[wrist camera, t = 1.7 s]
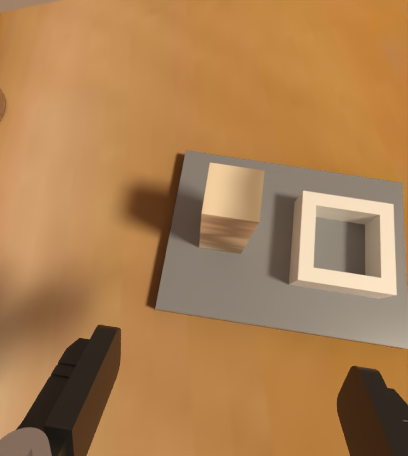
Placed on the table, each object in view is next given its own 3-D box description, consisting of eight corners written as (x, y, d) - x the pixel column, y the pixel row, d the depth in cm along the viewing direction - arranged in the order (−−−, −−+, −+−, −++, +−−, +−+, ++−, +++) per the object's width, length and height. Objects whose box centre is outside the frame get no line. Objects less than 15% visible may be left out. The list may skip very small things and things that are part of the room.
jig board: (156, 309, 34) (151, 306, 29) (186, 157, 39) (185, 135, 35) (400, 348, 33) (431, 350, 29) (394, 188, 39) (419, 170, 34)
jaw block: (199, 247, 34) (201, 213, 25) (205, 208, 36) (209, 162, 26) (240, 254, 34) (259, 222, 25) (245, 214, 35) (264, 170, 26)
